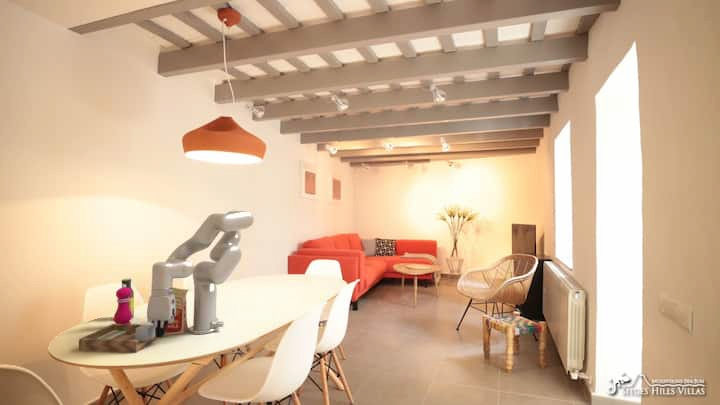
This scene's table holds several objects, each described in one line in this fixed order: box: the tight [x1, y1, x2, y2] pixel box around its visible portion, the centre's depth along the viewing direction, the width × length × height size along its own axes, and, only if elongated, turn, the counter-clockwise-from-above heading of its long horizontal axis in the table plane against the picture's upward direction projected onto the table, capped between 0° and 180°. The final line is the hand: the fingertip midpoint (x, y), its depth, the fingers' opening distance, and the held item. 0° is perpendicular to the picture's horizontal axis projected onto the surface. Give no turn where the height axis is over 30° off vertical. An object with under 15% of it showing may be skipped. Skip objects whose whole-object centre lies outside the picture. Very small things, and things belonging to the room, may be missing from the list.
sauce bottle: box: [121, 278, 135, 319], centre depth 172 cm, size 7×6×20 cm
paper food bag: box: [164, 287, 189, 336], centre depth 157 cm, size 9×9×20 cm
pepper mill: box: [113, 284, 133, 324], centre depth 160 cm, size 7×7×20 cm
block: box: [135, 323, 155, 341], centre depth 142 cm, size 5×5×5 cm
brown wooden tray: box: [78, 323, 160, 354], centre depth 142 cm, size 23×18×4 cm
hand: (160, 336), depth 141 cm, fingers closed
